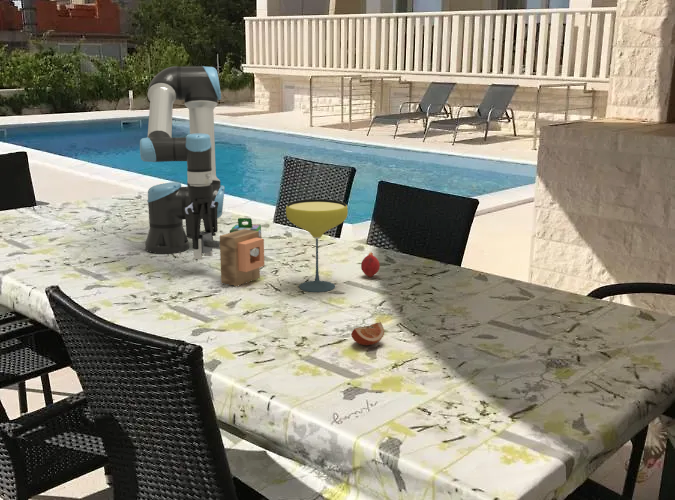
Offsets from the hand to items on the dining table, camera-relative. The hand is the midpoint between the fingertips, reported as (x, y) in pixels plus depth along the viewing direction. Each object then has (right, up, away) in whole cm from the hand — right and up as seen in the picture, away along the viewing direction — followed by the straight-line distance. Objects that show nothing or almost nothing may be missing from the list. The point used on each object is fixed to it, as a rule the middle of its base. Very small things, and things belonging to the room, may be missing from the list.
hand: (203, 257), depth 241 cm
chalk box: (+12, -1, +16) cm, 20 cm away
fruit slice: (+50, -21, -58) cm, 79 cm away
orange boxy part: (+17, +1, -12) cm, 20 cm away
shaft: (+8, 0, -6) cm, 10 cm away
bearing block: (+13, -7, -7) cm, 16 cm away
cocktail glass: (+36, -9, -13) cm, 40 cm away
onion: (+53, -7, -3) cm, 53 cm away
